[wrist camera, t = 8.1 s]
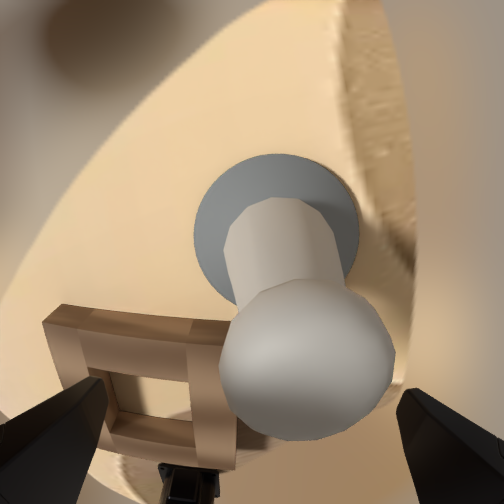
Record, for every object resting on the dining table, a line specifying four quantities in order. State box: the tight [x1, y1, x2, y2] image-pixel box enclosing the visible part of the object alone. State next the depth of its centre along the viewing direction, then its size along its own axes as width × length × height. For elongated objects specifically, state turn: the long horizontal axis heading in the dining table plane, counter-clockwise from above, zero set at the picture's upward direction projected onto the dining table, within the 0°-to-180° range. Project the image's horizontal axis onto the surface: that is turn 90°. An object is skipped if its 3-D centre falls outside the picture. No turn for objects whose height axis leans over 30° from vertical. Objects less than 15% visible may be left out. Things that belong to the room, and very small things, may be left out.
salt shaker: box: [219, 197, 396, 441], centre depth 12 cm, size 6×6×13 cm
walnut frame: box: [42, 304, 237, 470], centre depth 21 cm, size 14×14×3 cm
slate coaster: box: [194, 154, 359, 305], centre depth 19 cm, size 10×10×1 cm
